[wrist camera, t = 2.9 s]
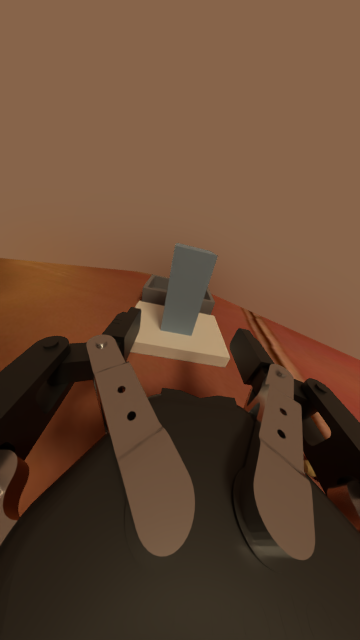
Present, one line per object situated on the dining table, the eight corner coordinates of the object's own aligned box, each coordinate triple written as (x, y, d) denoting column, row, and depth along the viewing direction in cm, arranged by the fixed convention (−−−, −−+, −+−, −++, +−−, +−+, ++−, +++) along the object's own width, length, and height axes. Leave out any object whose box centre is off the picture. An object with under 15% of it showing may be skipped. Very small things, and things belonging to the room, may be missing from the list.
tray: (141, 304, 32) (142, 287, 30) (150, 288, 41) (152, 274, 39) (209, 317, 33) (215, 302, 31) (203, 299, 43) (207, 286, 41)
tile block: (160, 330, 22) (175, 245, 16) (163, 314, 26) (176, 242, 20) (191, 335, 22) (217, 255, 16) (190, 319, 27) (210, 251, 20)
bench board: (115, 349, 19) (115, 338, 18) (138, 309, 30) (139, 300, 29) (224, 367, 21) (230, 358, 20) (211, 323, 31) (214, 315, 30)
